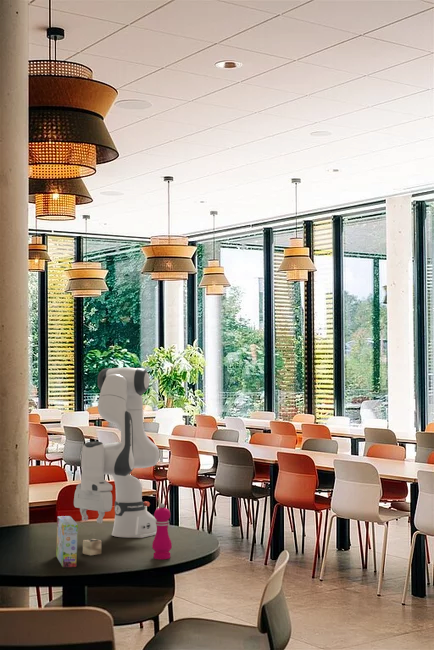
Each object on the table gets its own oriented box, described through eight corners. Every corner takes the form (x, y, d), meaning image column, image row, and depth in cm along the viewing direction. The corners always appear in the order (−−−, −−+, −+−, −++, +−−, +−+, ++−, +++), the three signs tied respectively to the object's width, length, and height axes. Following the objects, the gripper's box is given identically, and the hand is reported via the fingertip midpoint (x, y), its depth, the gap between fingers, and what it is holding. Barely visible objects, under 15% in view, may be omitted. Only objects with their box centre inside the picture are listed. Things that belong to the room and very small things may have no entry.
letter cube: (93, 551, 349) (93, 538, 349) (101, 553, 345) (101, 540, 346) (82, 553, 345) (82, 539, 346) (90, 555, 342) (90, 541, 342)
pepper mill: (156, 560, 333) (157, 505, 334) (149, 556, 339) (149, 502, 340) (174, 558, 336) (175, 504, 337) (166, 555, 343) (167, 501, 344)
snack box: (78, 567, 321) (78, 524, 322) (62, 568, 319) (62, 524, 320) (70, 555, 341) (70, 515, 342) (55, 556, 340) (55, 515, 341)
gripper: (70, 483, 352) (69, 519, 351) (101, 487, 337) (101, 525, 336) (83, 482, 356) (83, 518, 355) (115, 486, 341) (114, 523, 340)
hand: (92, 521), depth 345 cm, fingers open, 8 cm apart
